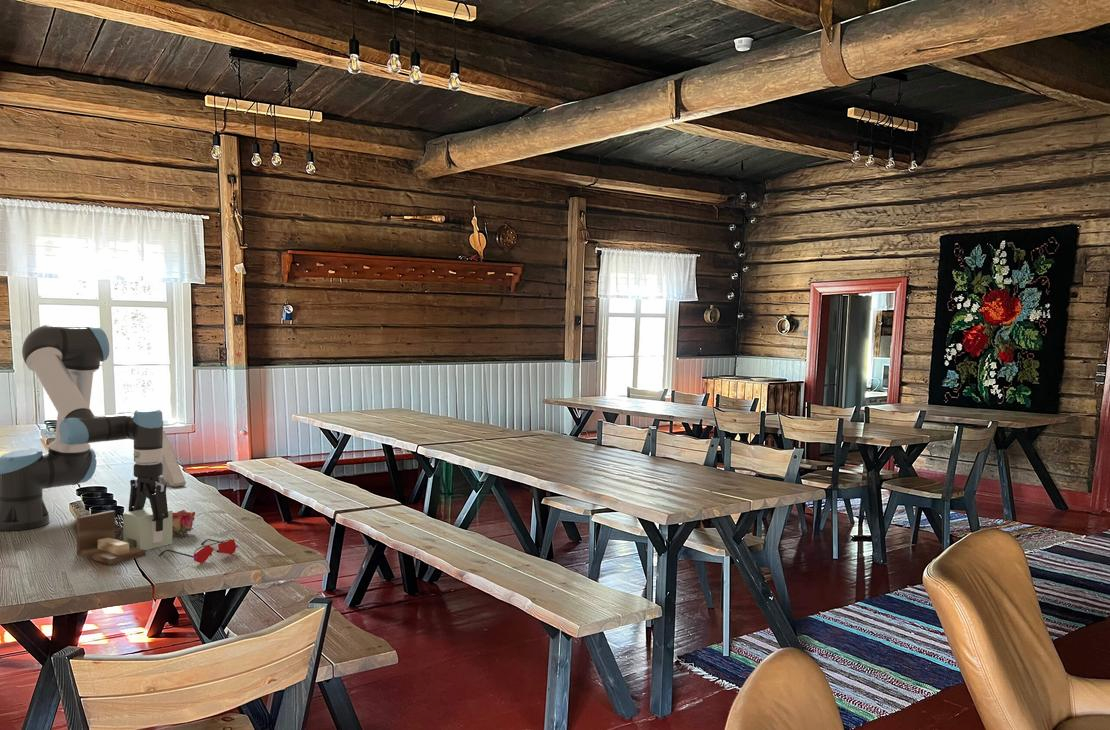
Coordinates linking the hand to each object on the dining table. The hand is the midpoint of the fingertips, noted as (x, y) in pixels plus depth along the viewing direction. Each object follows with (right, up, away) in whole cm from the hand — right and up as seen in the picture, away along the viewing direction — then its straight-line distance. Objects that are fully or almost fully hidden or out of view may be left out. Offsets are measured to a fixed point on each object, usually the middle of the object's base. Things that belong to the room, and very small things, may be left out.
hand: (148, 539), depth 228 cm
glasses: (+18, -3, -7) cm, 19 cm away
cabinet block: (0, -2, 0) cm, 2 cm away
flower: (+3, -2, +12) cm, 13 cm away
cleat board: (-5, -2, -9) cm, 11 cm away
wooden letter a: (-40, +4, +89) cm, 98 cm away
